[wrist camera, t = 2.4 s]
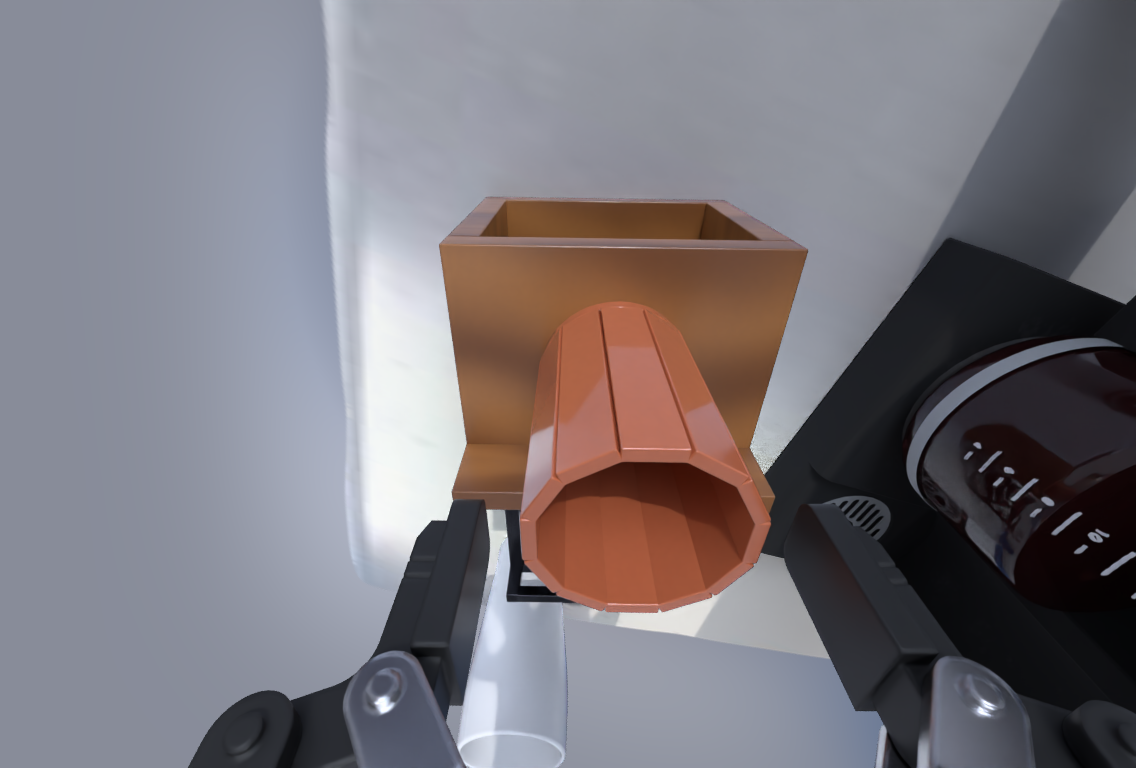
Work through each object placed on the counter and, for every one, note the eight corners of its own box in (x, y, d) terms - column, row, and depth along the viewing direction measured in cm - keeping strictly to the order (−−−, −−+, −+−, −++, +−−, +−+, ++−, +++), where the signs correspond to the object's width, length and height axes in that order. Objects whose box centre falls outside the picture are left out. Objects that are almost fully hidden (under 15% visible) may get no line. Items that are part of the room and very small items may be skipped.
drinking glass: (485, 524, 38) (440, 735, 25) (563, 517, 37) (559, 729, 24) (501, 573, 41) (469, 780, 28) (572, 567, 41) (573, 776, 28)
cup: (539, 299, 16) (514, 446, 9) (699, 301, 16) (799, 451, 9) (542, 427, 20) (525, 611, 12) (676, 429, 20) (738, 615, 12)
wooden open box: (485, 196, 24) (411, 270, 13) (725, 200, 24) (856, 276, 13) (498, 358, 29) (454, 509, 18) (694, 361, 29) (769, 514, 18)
